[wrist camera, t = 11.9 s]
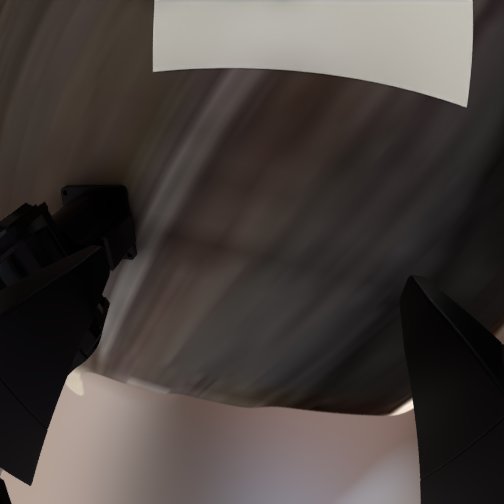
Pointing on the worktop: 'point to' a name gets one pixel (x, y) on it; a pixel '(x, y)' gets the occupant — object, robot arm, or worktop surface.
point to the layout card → (324, 39)
